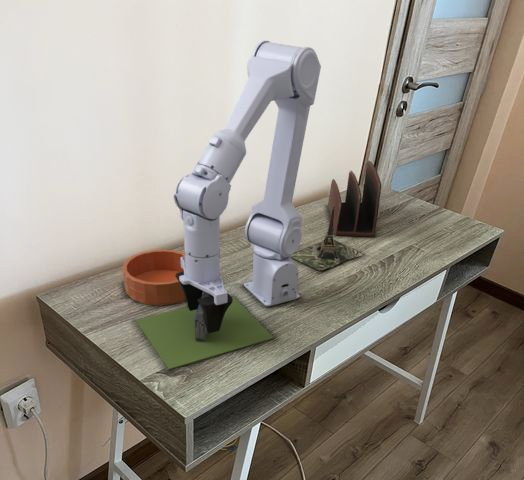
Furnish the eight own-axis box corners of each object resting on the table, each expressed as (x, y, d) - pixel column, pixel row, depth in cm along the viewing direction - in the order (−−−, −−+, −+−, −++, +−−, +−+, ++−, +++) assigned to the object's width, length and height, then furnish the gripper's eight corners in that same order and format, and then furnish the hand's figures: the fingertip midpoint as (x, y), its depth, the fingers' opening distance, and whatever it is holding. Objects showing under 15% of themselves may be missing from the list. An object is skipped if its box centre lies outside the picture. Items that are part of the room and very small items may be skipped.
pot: (209, 294, 106) (209, 274, 103) (139, 312, 100) (137, 290, 97) (181, 263, 116) (180, 244, 113) (115, 277, 110) (113, 257, 107)
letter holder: (363, 207, 148) (371, 156, 139) (374, 237, 132) (384, 181, 123) (327, 205, 147) (333, 154, 139) (334, 235, 132) (342, 179, 123)
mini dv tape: (203, 316, 99) (203, 288, 96) (211, 316, 99) (211, 288, 95) (195, 341, 93) (194, 312, 89) (204, 342, 92) (203, 313, 89)
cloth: (273, 338, 95) (273, 337, 95) (169, 370, 86) (169, 368, 86) (232, 297, 106) (232, 295, 106) (135, 321, 97) (135, 320, 97)
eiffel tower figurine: (330, 239, 130) (338, 186, 122) (363, 254, 124) (373, 199, 116) (287, 257, 121) (292, 200, 113) (320, 273, 115) (327, 215, 107)
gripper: (162, 237, 90) (167, 305, 98) (198, 274, 80) (200, 346, 88) (200, 230, 93) (202, 296, 101) (239, 265, 83) (237, 336, 91)
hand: (203, 319), depth 95 cm, fingers closed on mini dv tape, 7 cm apart
